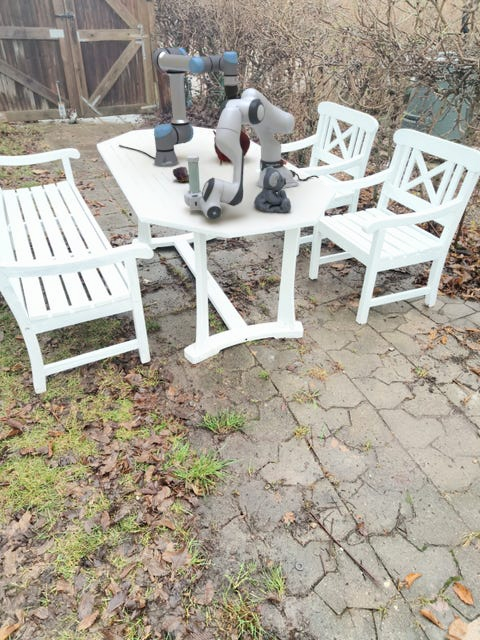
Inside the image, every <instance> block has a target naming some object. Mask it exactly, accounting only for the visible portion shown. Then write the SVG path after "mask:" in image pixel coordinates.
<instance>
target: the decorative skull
mask: <svg viewBox="0 0 480 640" xmlns="http://www.w3.org/2000/svg"><path fill="white" fill-rule="evenodd" d="M212 132H213V135H214V137H213V140H214V141H213V142H214V144H213V147H214V151H215V154H216V156H217V158H218V160H219V165H220V166H222V164H223V162H225V163H232V161H231V160H230V159H229V158H228V157H227V156H226V155H224V154H223V153H222V152H221V151H220V150H219V149H218V147H217V145H216V143H215V135H216V130H212ZM239 140H240V146H241V149H242V150H243V152H244V157H246V155H247V153H248V152H249V149H250V147H251V139H250V138H249V136H248V134H246V132H245V131H243V130H242V129H241V132H240V139H239Z"/></svg>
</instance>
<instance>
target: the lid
mask: <svg viewBox="0 0 480 640" xmlns="http://www.w3.org/2000/svg"><path fill="white" fill-rule="evenodd" d="M199 160H200V157H199V155H198V154H197V155H196V154H190V155H187V156H186V162H187V163H188V162H197V161H198V162H199Z"/></svg>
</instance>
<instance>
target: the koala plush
mask: <svg viewBox="0 0 480 640" xmlns="http://www.w3.org/2000/svg"><path fill="white" fill-rule="evenodd" d="M285 185H286V181H285V180H284V179H283V177H282V175H281V174H280V173H279V171H278V170H275V169H274V168H273V167H271V166H269V167H267V168H266V173H265V176H264V179H263V187H262V190H261V191H260V192H258V194H257V195H256V197H255V198H254V201H253V205H254V207H255V208H256V209H257V210H261V211H263V212H267V213H271V212H275V213H288V212H290V211H291V210H292V204H291V203H292V202H291V200H290V198H288V195H287V192H286V190H285V189H284V188H283V187H284V186H285Z"/></svg>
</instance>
